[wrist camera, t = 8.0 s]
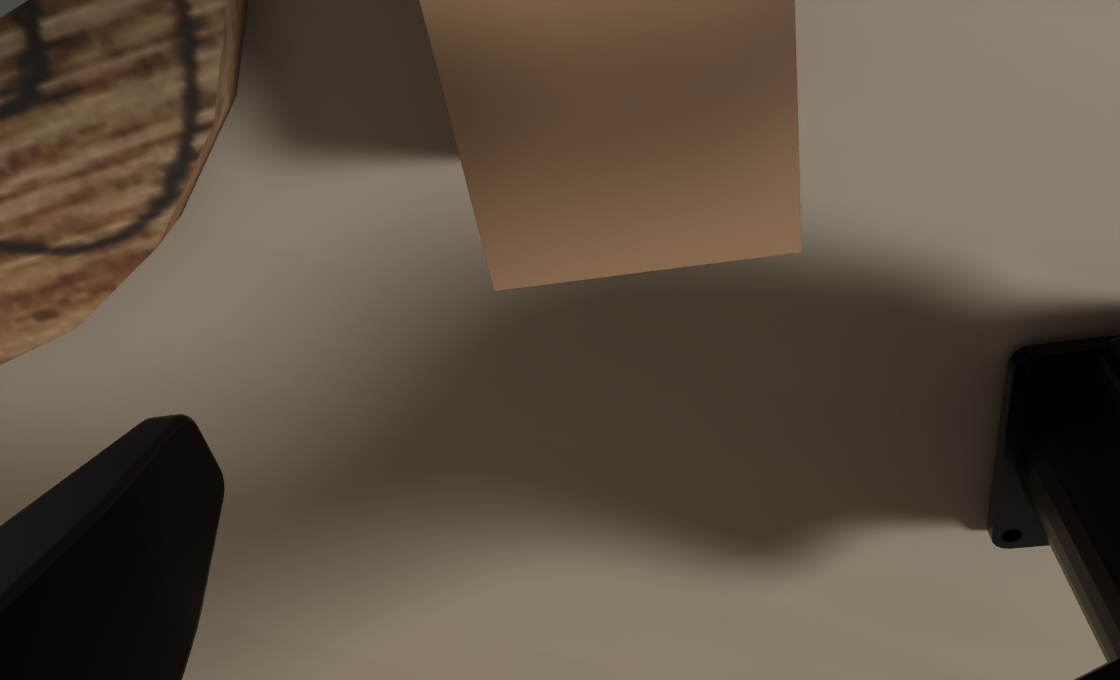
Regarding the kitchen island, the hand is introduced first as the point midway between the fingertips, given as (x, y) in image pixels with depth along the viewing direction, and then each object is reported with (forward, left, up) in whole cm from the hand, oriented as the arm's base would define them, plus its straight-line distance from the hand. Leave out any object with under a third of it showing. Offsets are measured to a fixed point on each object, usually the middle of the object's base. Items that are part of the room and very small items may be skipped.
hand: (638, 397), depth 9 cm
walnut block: (0, 0, -11) cm, 11 cm away
